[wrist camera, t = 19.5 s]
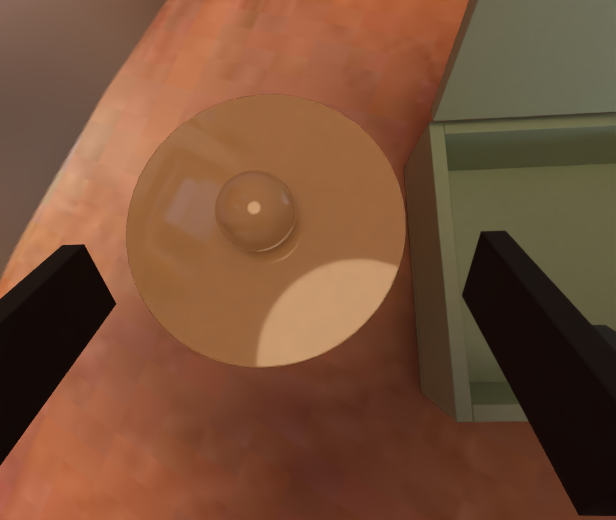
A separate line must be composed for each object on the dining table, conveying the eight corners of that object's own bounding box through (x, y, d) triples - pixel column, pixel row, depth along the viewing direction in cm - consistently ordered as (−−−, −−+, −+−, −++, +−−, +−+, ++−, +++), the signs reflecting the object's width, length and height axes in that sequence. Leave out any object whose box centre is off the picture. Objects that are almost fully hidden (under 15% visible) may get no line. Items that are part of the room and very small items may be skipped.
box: (739, 388, 20) (902, 417, 15) (420, 393, 21) (456, 422, 15) (686, 154, 23) (807, 101, 17) (403, 167, 24) (428, 120, 18)
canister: (328, 205, 24) (336, -8, 8) (375, 305, 22) (496, 288, 7) (228, 249, 23) (34, 119, 8) (270, 352, 22) (137, 449, 6)
